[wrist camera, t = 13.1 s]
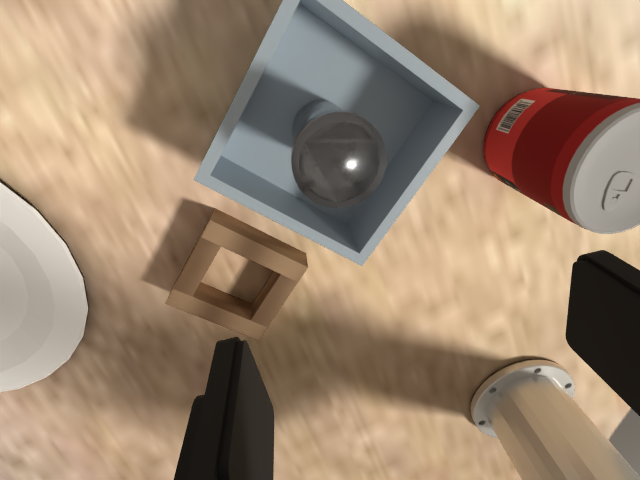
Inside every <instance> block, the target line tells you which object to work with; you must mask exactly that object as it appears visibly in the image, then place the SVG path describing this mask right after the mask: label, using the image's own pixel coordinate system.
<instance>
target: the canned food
mask: <svg viewBox="0 0 640 480" xmlns="http://www.w3.org/2000/svg"><path fill="white" fill-rule="evenodd" d="M484 157H485V160H486V163H487V165H488V167H489V169H490V171H491V172H492V174H493V175H494V176H495V177H496V178H497V179H498V180H500V181H501V182H503V183H505V184H506V185H508V186H510V187H512V188H513V189H515V190H517V191H519V192H520V193H522V194H524V195H526V196H527V197H529V198H531V199H532V200H534V201H536V202H538V203H539V204H541V205H543V206H545V207H546V208H548V209H550V210H552V211H553V212H555V213H557V214H558V215H560V216H562V217H564V218H565V219H567V220H569V221H571V222H573V223H575V224H577V225H579V226H580V227H582V228H584V229H588V230H590V231H592V232H596V233H600V234H613V233H619V232H623V231H626V230H629V229H632V228H634V227H636V226H638V225H640V99H636V98H628V97H619V96H611V95H602V94H594V93H585V92H577V91H568V90H560V89H551V88H538V89H533V90H530V91H527V92H524V93H522V94H519V95H517V96H516V97H514V98H512V99H510V100H509V101H508V102H507V103H506V104H504V105H503V106H502V107H501V108H500V110H499V111H498V112H497V113H496V114H495V116H494V117H493V119H492V121H491V122H490V124H489V127H488V129H487V131H486V135H485V139H484Z"/></svg>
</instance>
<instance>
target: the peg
mask: <svg viewBox="0 0 640 480" xmlns="http://www.w3.org/2000/svg"><path fill="white" fill-rule="evenodd" d="M292 135H293V140H294V142H293V145H292V150H291V165H292V172H293V176H294V179H295V182H296V184H297V186H298V187H299V189H300V190H301V192H302V193H303V194H304V195H305V196H306V197H307V198H309V199H310V200H311V201H313V202H314V203H316V204H319V205H321V206H324V207H329V208H345V207H350V206H353V205H356V204H358V203H360V202H362V201H363V200H365V199H366V198H367V197H369V196H370V195H371V194H372V193H373V192H374V191H375V190H376V188H377V187H378V186H379V184H380V182H381V180H382V178H383V176H384V173H385V170H386V164H387V153H386V147H385V144H384V141H383V139H382V137H381V135H380V133H379V132H378V131H377V129H376V128H375V127H374V126H373V125H372V124H371V123H369V122H368V121H367V120H365V119H364V118H363V117H361V116H359V115H357V114H355V113H352V112H349V111H344V110H342V109H340V108H339V107H338V106H337V105H335V104H334V103H332V102H329V101H325V100H317V101H312V102H310V103H308V104H306V105H304V106H303V107H302V108H301V109H300V110H299V111H298V112H297V114H296V116H295V118H294V120H293V124H292Z"/></svg>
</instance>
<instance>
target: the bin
mask: <svg viewBox="0 0 640 480" xmlns="http://www.w3.org/2000/svg"><path fill="white" fill-rule="evenodd" d="M317 100H325V101H329V102H332V103H334V104H335V105H337V106H338V107H339V108H340V109H342V110H344V111H349V112H352V113H355V114H357V115H359V116H361V117H363V118H364V119H365V120H367V121H368V122H369V123H371V124H372V125H373V126H374V127H375V128H376V129H377V131H378V132H379V133H380V135H381V137H382V139H383V141H384V144H385V147H386V153H387V164H386V170H385V173H384V176H383V178H382V180H381V182H380V184H379V186H378V187H377V188H376V190H375V191H374V192H373V193H372V194H371V195H370V196H369V197H367V198H366V199H365V200H363V201H362V202H360V203H358V204H356V205H353V206H350V207H345V208H329V207H324V206H321V205H319V204H316V203H314V202H313V201H311V200H310V199H309V198H307V197H306V196H305V195H304V194H303V193H302V192H301V190H300V189H299V187H298V186H297V184H296V182H295V179H294V176H293V172H292V165H291V150H292V145H293V142H294V140H293V135H292V124H293V120H294V118H295V116H296V114H297V112H298V111H299V110H300V109H301V108H302V107H303V106H304V105H306V104H308V103H310V102H312V101H317ZM479 107H480V105H478V104H477V103H476V102H474V101H473V100H472V99H471V98H469V97H468V96H467V95H465V94H464V93H463V92H461V91H460V90H459V89H458V88H456V87H455V86H454V85H452V84H451V83H450V82H448V81H447V80H446V79H445V78H443V77H442V76H441V75H439V74H438V73H437V72H435V71H434V70H433V69H432V68H430V67H429V66H428V65H426V64H425V63H424V62H422V61H421V60H420V59H419V58H417V57H416V56H415V55H413V54H412V53H411V52H409V51H408V50H407V49H406V48H404V47H403V46H402V45H400V44H399V43H398V42H396V41H395V40H394V39H393V38H391V37H390V36H389V35H387V34H386V33H385V32H383V31H382V30H381V29H380V28H378V27H377V26H376V25H374V24H373V23H372V22H370V21H369V20H368V19H367V18H365V17H364V16H363V15H361V14H360V13H359V12H357V11H356V10H355V9H354V8H352V7H351V6H350V5H348V4H347V3H346V2H344V1H343V0H283V1H282V3H281V5H280V7H279V9H278V11H277V13H276V15H275V17H274V19H273V21H272V23H271V25H270V27H269V29H268V31H267V33H266V35H265V37H264V39H263V41H262V43H261V45H260V47H259V49H258V51H257V53H256V55H255V57H254V59H253V61H252V63H251V65H250V67H249V69H248V71H247V73H246V75H245V77H244V79H243V81H242V83H241V85H240V87H239V89H238V91H237V93H236V95H235V97H234V99H233V101H232V103H231V105H230V107H229V109H228V111H227V113H226V115H225V117H224V119H223V121H222V123H221V125H220V127H219V129H218V131H217V133H216V135H215V137H214V139H213V141H212V144H211V146H210V148H209V150H208V152H207V154H206V156H205V158H204V160H203V162H202V164H201V166H200V168H199V170H198V172H197V174H196V176H195V178H194V180H195V181H197V182H199V183H201V184H203V185H205V186H207V187H209V188H210V189H212V190H214V191H216V192H218V193H220V194H222V195H224V196H226V197H228V198H230V199H232V200H234V201H236V202H238V203H240V204H242V205H244V206H246V207H248V208H250V209H251V210H253V211H255V212H257V213H259V214H261V215H263V216H265V217H267V218H269V219H271V220H273V221H275V222H277V223H279V224H281V225H283V226H285V227H287V228H289V229H291V230H293V231H294V232H296V233H298V234H300V235H302V236H304V237H306V238H308V239H310V240H312V241H314V242H316V243H318V244H320V245H322V246H324V247H326V248H328V249H330V250H332V251H334V252H336V253H337V254H339V255H341V256H343V257H345V258H347V259H349V260H351V261H353V262H355V263H357V264H359V265H361V266H362V265H363V264H364V263H365V261H366V260H367V259H368V257H369V256H370V255H371V253H372V252H373V251H374V249H375V248H376V246H377V245H378V244H379V242H380V241H381V240H382V238H383V237H384V236H385V234H386V233H387V232H388V230H389V229H390V228H391V226H392V225H393V223H394V222H395V221H396V219H397V218H398V217H399V215H400V214H401V213H402V211H403V210H404V209H405V207H406V206H407V205H408V203H409V202H410V200H411V199H412V198H413V196H414V195H415V194H416V192H417V191H418V190H419V188H420V187H421V186H422V184H423V183H424V181H425V180H426V179H427V177H428V176H429V175H430V173H431V172H432V171H433V169H434V168H435V167H436V165H437V164H438V163H439V161H440V160H441V158H442V157H443V156H444V154H445V153H446V152H447V150H448V149H449V148H450V146H451V145H452V144H453V142H454V141H455V140H456V138H457V137H458V135H459V134H460V133H461V131H462V130H463V129H464V127H465V126H466V125H467V123H468V122H469V121H470V119H471V118H472V116H473V115H474V114H475V112H476V111H477V110H478V108H479Z"/></svg>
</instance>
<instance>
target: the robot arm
mask: <svg viewBox="0 0 640 480" xmlns="http://www.w3.org/2000/svg"><path fill="white" fill-rule="evenodd" d="M566 340H567V342H568V344H569V346H570V347H571V348H572V349H573V350H574V351H575V352H576V353H577V354H578V355H579V356H580V357H581V358H582V359H583V360H584V361H585V362H586V363H587V364H588V365H589V366H590V367H591V368H592V369H593V370H594V371H595V372H596V373H597V374H598V375H599V376H600V377H601V378H602V379H603V380H604V381H605V382H606V383H607V384H608V385H609V386H610V387H611V388H612V389H613V390H614V391H615V392H616V393H617V394H618V395H619V396H620V397H621V398H622V399H623V400H624V401H625V402H626V403H627V404H628V405H629V406H630V407H631V408H632V409H633V410H634V411H635V412H636V413H637V414H638V415H639V416H640V270H638V269H636V268H635V267H633V266H631V265H630V264H628V263H626V262H624V261H623V260H621V259H619V258H618V257H616V256H614V255H613V254H611V253H609V252H607V251H605V250H600V251H596V252H592V253H588V254H584V255H581V256H579V257H578V259H577V262H575V263H574V264H573V267H572V277H571V287H570V297H569V306H568V316H567V326H566ZM574 392H575V384H574V381H573V379H572V377H571V376H570V375H569V373H568V372H567V371H566V370H565V369H564V368H563V367H562V366H560V365H558V364H556V363H555V362H551V361H547V360H528V361H523V362H519V363H515V364H513V365H510V366H507V367H505V368H503V369H501V370H499V371H498V372H496V373H495V374H493V375H492V376H490V377H489V378H488V379H487V380H486V381H485V382H484V383H483V384H482V385H481V386H480V387H479V389H478V390H477V391H476V393H475V395H474V397H473V399H472V403H471V416H472V419H473V421H474V422H475V424H476V426H477V427H478V428H479V430H480V431H481V432H483V433H484V434H486V435H489V436H491V437H495V438H498V439H499V441H500V442H501V444H502V446H503V448H504V449H505V451H506V453H507V455H508V456H509V458H510V460H511V461H512V463H513V465H514V467H515V468H516V470H517V472H518V474H519V475H520V477H521V479H522V480H640V477H639V476H638V474H637V473H636V472H635V471H634V470H633V469H632V467H631V466H630V465H629V464H628V463H627V462H626V461H625V459H624V458H623V457H622V456H621V455H620V453H619V452H618V451H617V450H616V449H615V448H614V446H613V445H612V444H611V443H610V442H609V441H608V439H607V438H606V437H605V436H604V435H603V434H602V432H601V431H600V430H599V429H598V428H597V427H596V425H595V424H594V423H593V422H592V421H591V420H590V418H589V417H588V416H587V415H586V414H585V413H584V411H583V410H582V409H581V408H580V407H579V406H578V405H577V403H576V402H575V401H574V400H573V397H574ZM273 464H274V411H273V406H272V403H271V401H270V398H269V396H268V393H267V391H266V388H265V386H264V383H263V381H262V378H261V375H260V373H259V370H258V368H257V365H256V363H255V360H254V358H253V355H252V353H251V350H250V348H249V345H248V343H247V341H246V340H244V341H240V339H239V338H238V337H234V338H230V339H226V340H221V341H218V342H217V343H216V347H215V351H214V356H213V360H212V365H211V369H210V374H209V378H208V383H207V387H206V392H205V394H204V395H200V396H197V397H196V398H195V399H194V402H193V405H192V409H191V413H190V417H189V421H188V425H187V429H186V433H185V437H184V441H183V445H182V449H181V453H180V457H179V461H178V465H177V469H176V473H175V477H174V480H273Z"/></svg>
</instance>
